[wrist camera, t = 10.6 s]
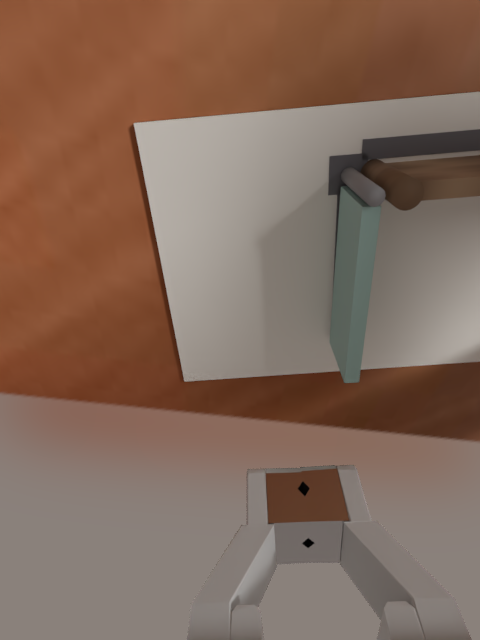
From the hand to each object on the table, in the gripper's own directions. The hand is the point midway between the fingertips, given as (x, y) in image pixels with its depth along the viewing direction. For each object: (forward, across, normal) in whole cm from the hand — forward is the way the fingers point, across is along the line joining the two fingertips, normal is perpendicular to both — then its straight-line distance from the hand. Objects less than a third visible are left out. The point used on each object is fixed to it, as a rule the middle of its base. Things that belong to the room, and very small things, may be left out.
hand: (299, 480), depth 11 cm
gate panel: (+19, -5, +2) cm, 20 cm away
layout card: (+20, -6, +2) cm, 21 cm away
